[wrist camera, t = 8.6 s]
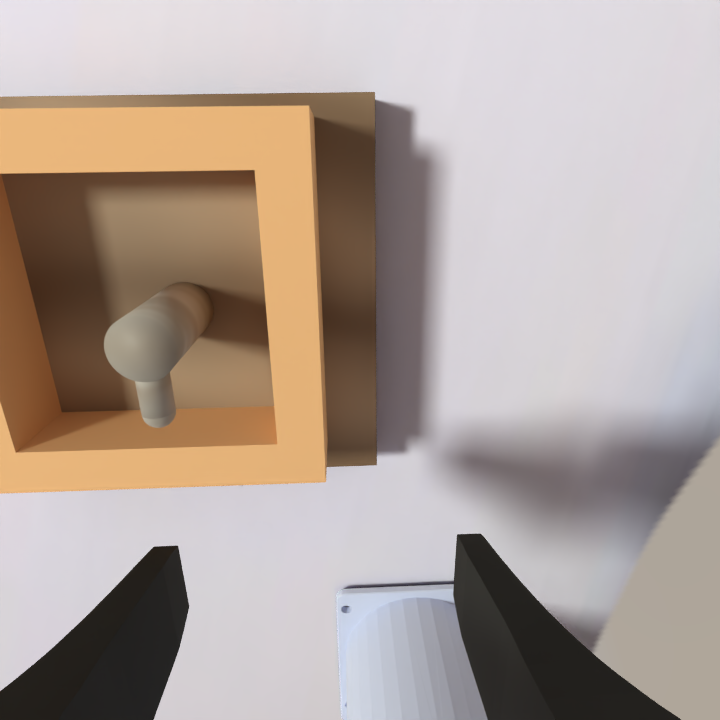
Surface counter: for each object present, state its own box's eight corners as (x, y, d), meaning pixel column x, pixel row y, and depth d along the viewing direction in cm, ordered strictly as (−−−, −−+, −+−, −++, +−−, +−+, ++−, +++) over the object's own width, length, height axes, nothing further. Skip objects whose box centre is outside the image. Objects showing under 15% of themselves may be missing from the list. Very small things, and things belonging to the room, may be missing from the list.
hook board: (374, 446, 22) (386, 538, 17) (58, 457, 22) (-38, 555, 16) (371, 98, 17) (387, 64, 12) (-38, 103, 17) (-224, 71, 11)
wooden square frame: (327, 439, 20) (325, 482, 18) (30, 448, 20) (-20, 494, 17) (314, 116, 16) (308, 105, 13) (-64, 121, 16) (-151, 110, 13)
